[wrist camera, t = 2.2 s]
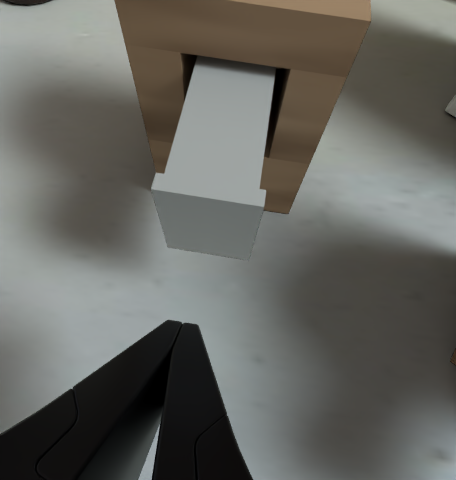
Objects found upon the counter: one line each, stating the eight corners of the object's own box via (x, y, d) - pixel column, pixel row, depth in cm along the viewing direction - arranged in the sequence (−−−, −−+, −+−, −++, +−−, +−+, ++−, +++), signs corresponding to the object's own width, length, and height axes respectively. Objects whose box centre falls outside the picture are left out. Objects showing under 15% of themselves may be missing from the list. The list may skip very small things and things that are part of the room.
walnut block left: (288, 214, 21) (370, 21, 10) (161, 193, 21) (110, -17, 10) (296, 128, 24) (367, -93, 13) (184, 111, 24) (163, -121, 13)
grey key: (248, 260, 14) (264, 207, 10) (167, 247, 14) (150, 189, 10) (267, 121, 17) (285, 39, 13) (201, 111, 17) (199, 26, 13)
